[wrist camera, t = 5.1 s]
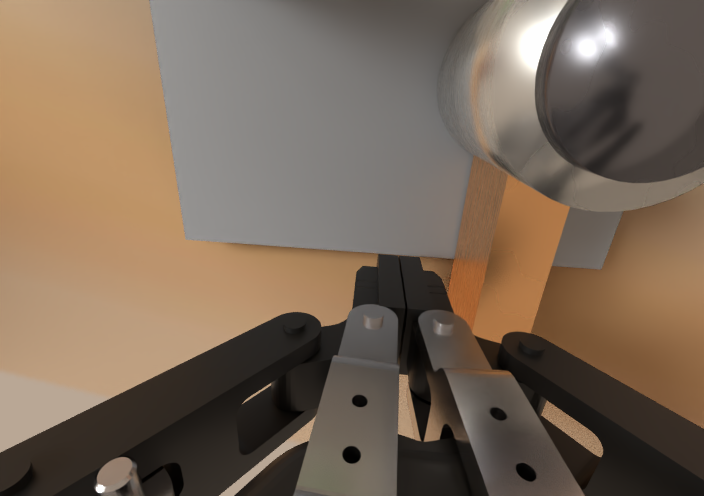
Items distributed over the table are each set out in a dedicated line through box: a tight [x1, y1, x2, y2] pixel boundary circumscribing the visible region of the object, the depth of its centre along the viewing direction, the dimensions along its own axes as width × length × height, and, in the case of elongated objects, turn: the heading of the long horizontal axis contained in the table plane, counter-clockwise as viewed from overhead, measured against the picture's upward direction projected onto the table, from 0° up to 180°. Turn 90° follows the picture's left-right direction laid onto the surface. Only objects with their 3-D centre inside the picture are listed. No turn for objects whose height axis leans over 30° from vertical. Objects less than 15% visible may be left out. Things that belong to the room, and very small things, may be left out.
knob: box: [437, 0, 704, 344], centre depth 10 cm, size 12×5×7 cm, turn 177°
